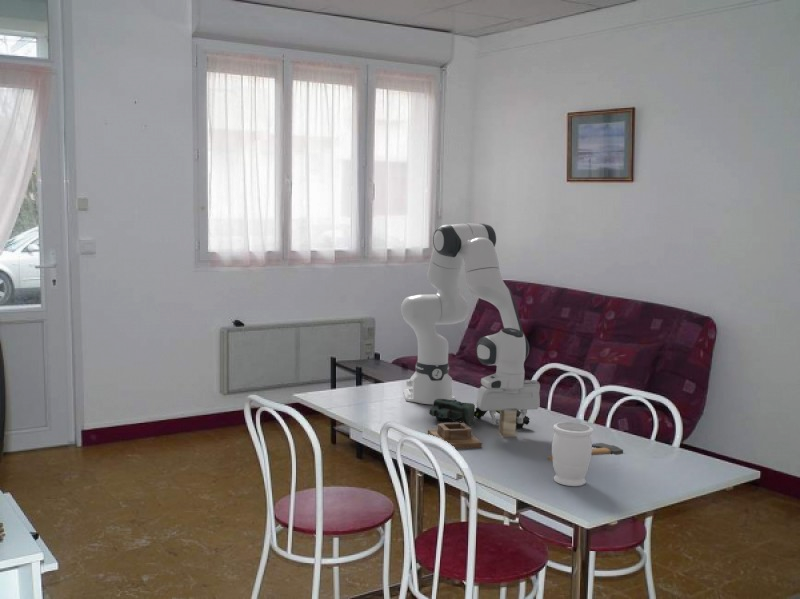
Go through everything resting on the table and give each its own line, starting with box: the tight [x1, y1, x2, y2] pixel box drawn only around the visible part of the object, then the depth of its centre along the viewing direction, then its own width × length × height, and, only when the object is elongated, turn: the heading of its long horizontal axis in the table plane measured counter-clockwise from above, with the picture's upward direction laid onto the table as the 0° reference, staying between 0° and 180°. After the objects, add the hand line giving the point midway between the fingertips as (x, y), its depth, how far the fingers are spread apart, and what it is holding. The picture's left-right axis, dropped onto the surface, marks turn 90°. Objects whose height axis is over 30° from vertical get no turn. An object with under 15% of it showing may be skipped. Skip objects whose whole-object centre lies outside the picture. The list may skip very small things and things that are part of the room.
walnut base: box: [427, 422, 483, 450], centre depth 257 cm, size 16×12×4 cm
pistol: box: [474, 407, 531, 430], centre depth 279 cm, size 21×3×10 cm, turn 54°
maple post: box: [498, 409, 517, 438], centre depth 266 cm, size 4×4×9 cm
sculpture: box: [428, 399, 476, 426], centre depth 280 cm, size 12×8×15 cm
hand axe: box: [548, 442, 624, 462], centre depth 250 cm, size 27×2×10 cm
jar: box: [551, 421, 594, 487], centre depth 223 cm, size 11×10×15 cm
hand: (507, 423), depth 266 cm, fingers open, 7 cm apart
